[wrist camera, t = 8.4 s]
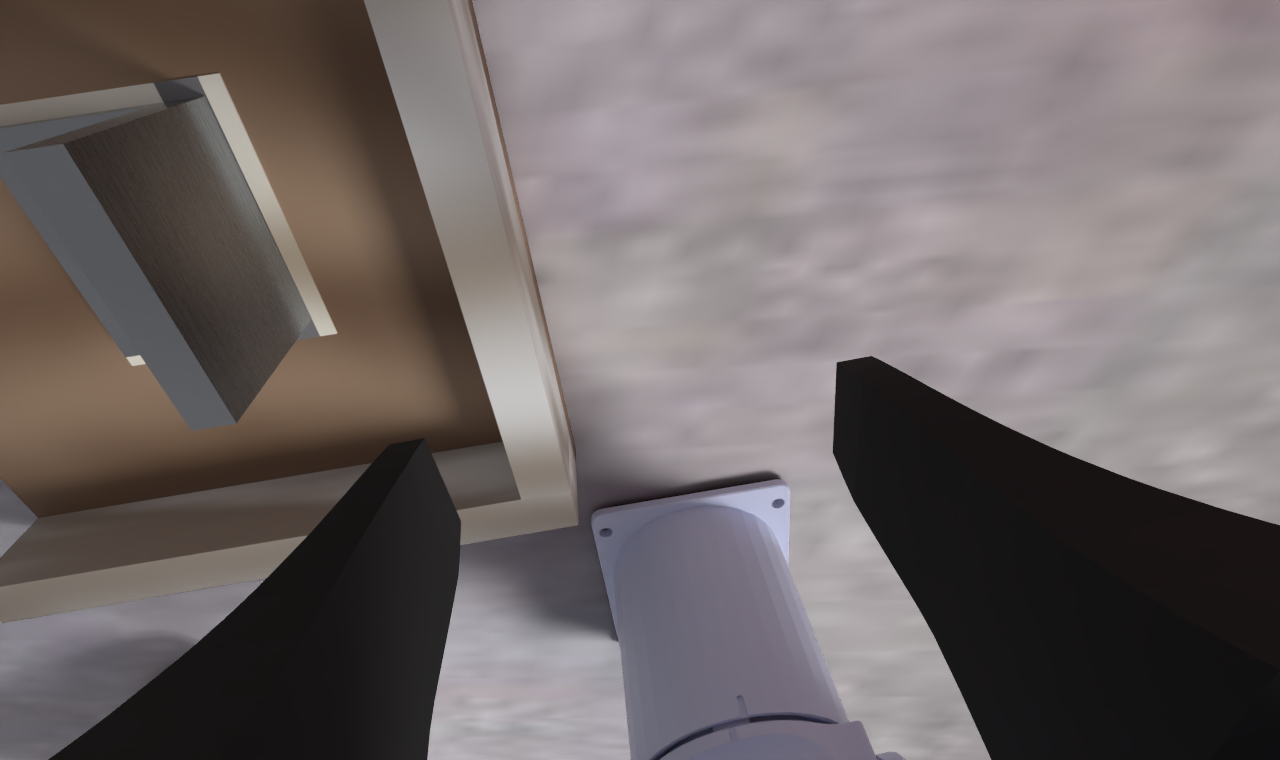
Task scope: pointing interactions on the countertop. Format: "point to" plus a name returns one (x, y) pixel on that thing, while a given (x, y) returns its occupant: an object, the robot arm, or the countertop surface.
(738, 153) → the countertop surface
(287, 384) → the arena
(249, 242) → the bracket
